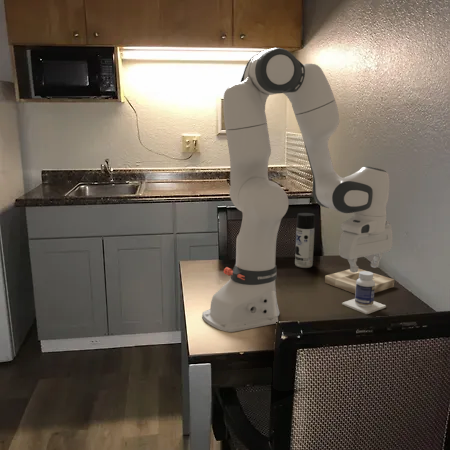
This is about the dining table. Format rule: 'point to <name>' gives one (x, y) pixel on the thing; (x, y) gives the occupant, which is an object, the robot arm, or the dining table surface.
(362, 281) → the pill bottle
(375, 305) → the pad
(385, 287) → the socket block
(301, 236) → the spray can
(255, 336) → the dining table surface
